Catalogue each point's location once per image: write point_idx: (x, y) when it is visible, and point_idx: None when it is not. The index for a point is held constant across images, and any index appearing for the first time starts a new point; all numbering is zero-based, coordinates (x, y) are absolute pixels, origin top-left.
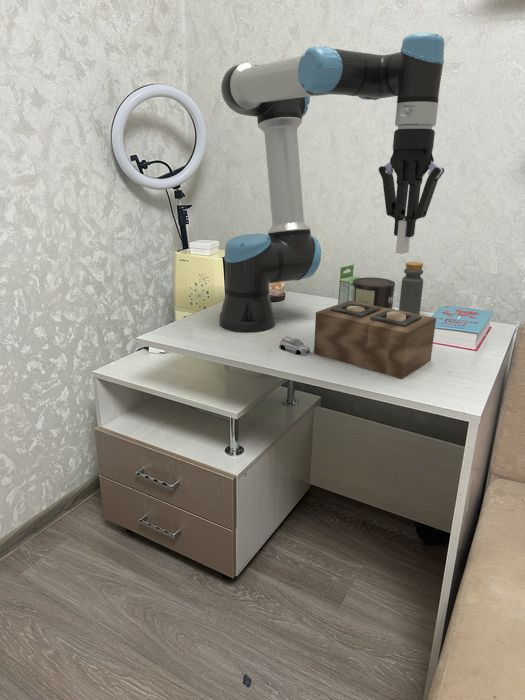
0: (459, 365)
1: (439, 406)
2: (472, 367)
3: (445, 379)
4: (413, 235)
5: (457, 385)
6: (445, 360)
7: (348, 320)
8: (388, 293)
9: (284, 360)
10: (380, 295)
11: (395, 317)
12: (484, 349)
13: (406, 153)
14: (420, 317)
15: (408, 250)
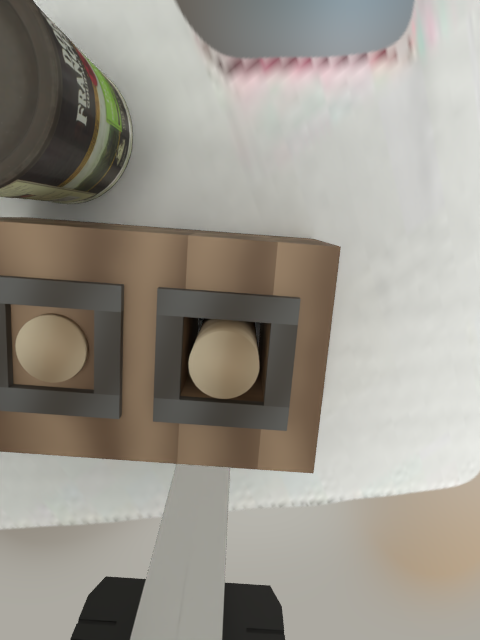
0: (392, 222)
1: (412, 490)
2: (427, 215)
3: (385, 344)
4: (275, 599)
5: (419, 363)
6: (347, 207)
7: (98, 456)
8: (67, 121)
9: (5, 470)
10: (49, 163)
11: (235, 395)
12: (429, 14)
13: None
14: (299, 309)
15: (229, 475)
